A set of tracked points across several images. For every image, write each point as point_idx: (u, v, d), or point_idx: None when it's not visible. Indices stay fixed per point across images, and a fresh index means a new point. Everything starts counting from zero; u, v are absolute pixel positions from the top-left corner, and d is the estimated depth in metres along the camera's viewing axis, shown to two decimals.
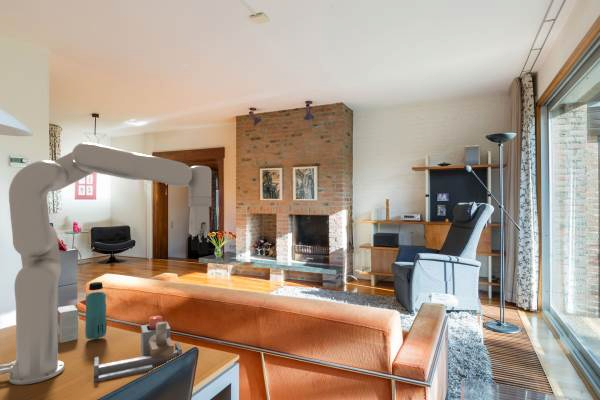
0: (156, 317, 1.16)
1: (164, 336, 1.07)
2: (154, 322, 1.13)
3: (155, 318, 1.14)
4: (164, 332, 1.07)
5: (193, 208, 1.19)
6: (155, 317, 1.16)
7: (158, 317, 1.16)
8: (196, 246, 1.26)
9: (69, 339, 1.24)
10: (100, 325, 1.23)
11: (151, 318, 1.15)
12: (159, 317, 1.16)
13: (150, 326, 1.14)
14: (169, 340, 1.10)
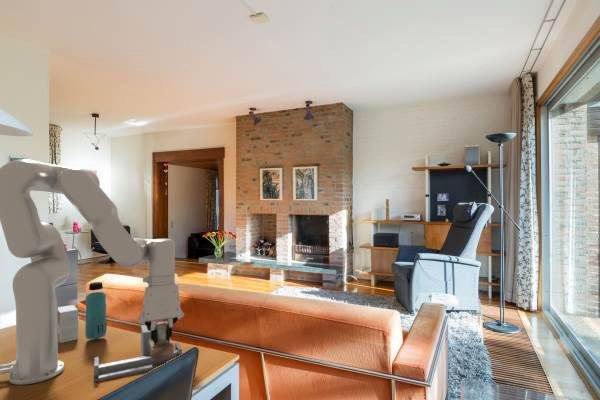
0: None
1: (164, 336, 1.07)
2: None
3: None
4: (164, 332, 1.07)
5: (169, 287, 1.06)
6: None
7: None
8: None
9: (69, 339, 1.24)
10: (100, 325, 1.23)
11: None
12: None
13: None
14: None
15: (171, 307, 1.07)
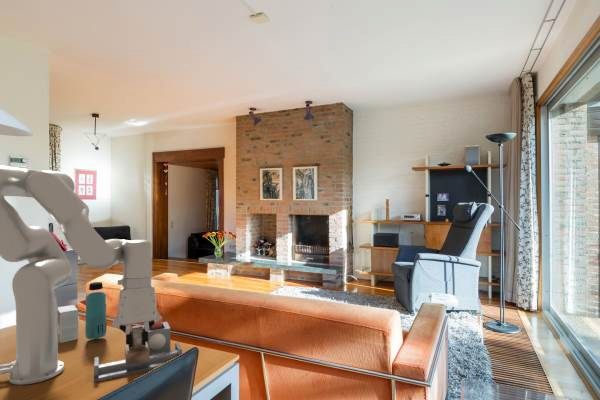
0: None
1: (140, 340, 1.04)
2: None
3: None
4: (140, 336, 1.04)
5: (145, 290, 1.03)
6: None
7: None
8: None
9: (69, 339, 1.24)
10: (100, 325, 1.23)
11: None
12: None
13: None
14: None
15: (147, 310, 1.03)
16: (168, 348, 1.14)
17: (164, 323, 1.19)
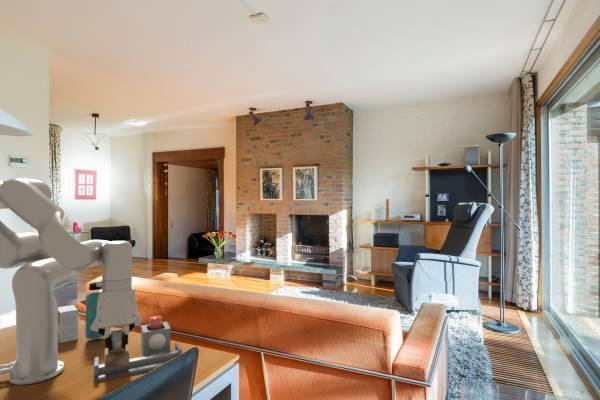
0: (156, 317, 1.16)
1: (119, 344, 1.01)
2: (154, 322, 1.13)
3: (155, 318, 1.14)
4: (119, 339, 1.01)
5: (125, 292, 1.01)
6: (155, 317, 1.16)
7: (158, 317, 1.16)
8: None
9: (69, 339, 1.24)
10: None
11: (151, 318, 1.15)
12: (159, 317, 1.16)
13: (150, 326, 1.14)
14: (126, 348, 1.04)
15: (127, 313, 1.01)
16: (168, 348, 1.14)
17: (164, 323, 1.19)
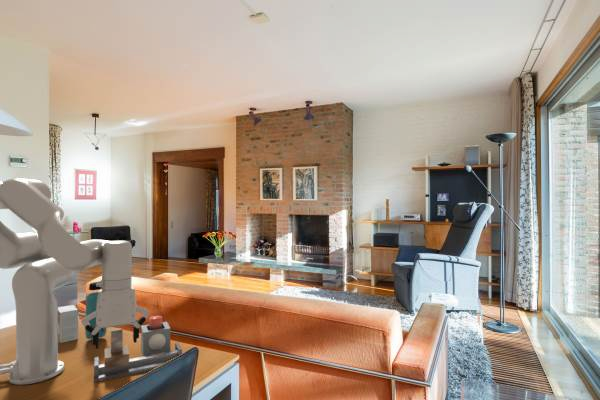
0: (156, 317, 1.16)
1: (119, 344, 1.01)
2: (154, 322, 1.13)
3: (155, 318, 1.14)
4: (119, 339, 1.01)
5: (124, 292, 1.01)
6: (155, 317, 1.16)
7: (158, 317, 1.16)
8: None
9: (69, 339, 1.24)
10: None
11: (151, 318, 1.15)
12: (159, 317, 1.16)
13: (150, 326, 1.14)
14: (126, 348, 1.04)
15: (126, 313, 1.01)
16: (168, 348, 1.14)
17: (164, 323, 1.19)
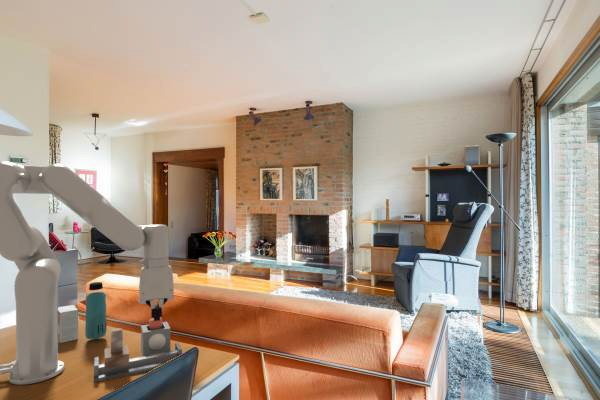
0: None
1: (119, 344, 1.01)
2: (154, 324, 1.13)
3: None
4: (119, 339, 1.01)
5: (163, 269, 1.14)
6: None
7: None
8: None
9: (69, 339, 1.24)
10: (100, 325, 1.23)
11: (151, 320, 1.15)
12: None
13: (150, 328, 1.14)
14: (126, 348, 1.04)
15: (165, 288, 1.14)
16: (168, 348, 1.14)
17: (164, 323, 1.19)
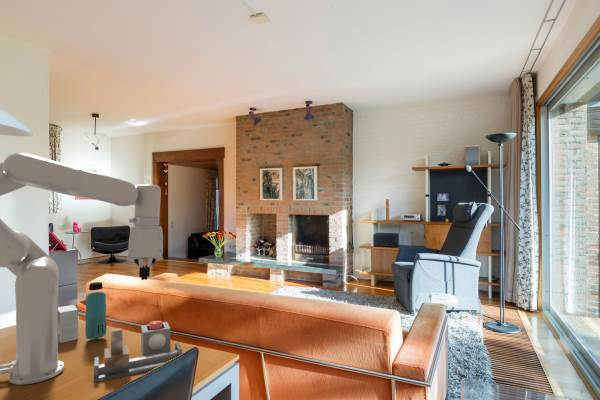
0: (156, 322, 1.16)
1: (119, 344, 1.01)
2: (154, 327, 1.13)
3: (155, 324, 1.14)
4: (119, 339, 1.01)
5: (153, 229, 1.15)
6: (155, 322, 1.16)
7: (158, 322, 1.16)
8: (144, 274, 1.15)
9: (69, 339, 1.24)
10: (100, 325, 1.23)
11: (151, 323, 1.15)
12: (159, 322, 1.16)
13: None
14: (126, 348, 1.04)
15: (154, 247, 1.14)
16: (168, 348, 1.14)
17: (164, 323, 1.19)
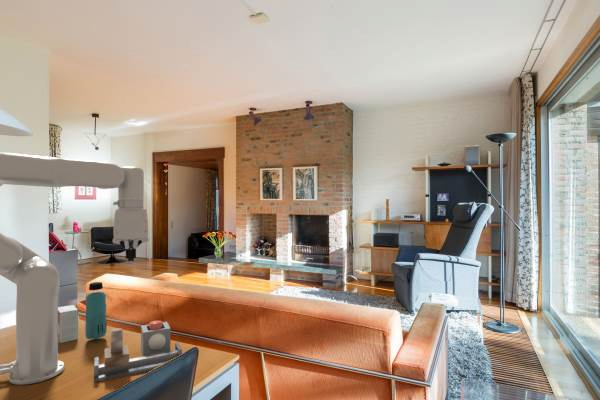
0: (156, 322, 1.16)
1: (119, 344, 1.01)
2: (154, 327, 1.13)
3: (155, 324, 1.14)
4: (119, 339, 1.01)
5: (138, 211, 1.16)
6: (155, 322, 1.16)
7: (158, 322, 1.16)
8: None
9: (69, 339, 1.24)
10: (100, 325, 1.23)
11: (151, 323, 1.15)
12: (159, 322, 1.16)
13: None
14: (126, 348, 1.04)
15: (139, 229, 1.16)
16: (168, 348, 1.14)
17: (164, 323, 1.19)
